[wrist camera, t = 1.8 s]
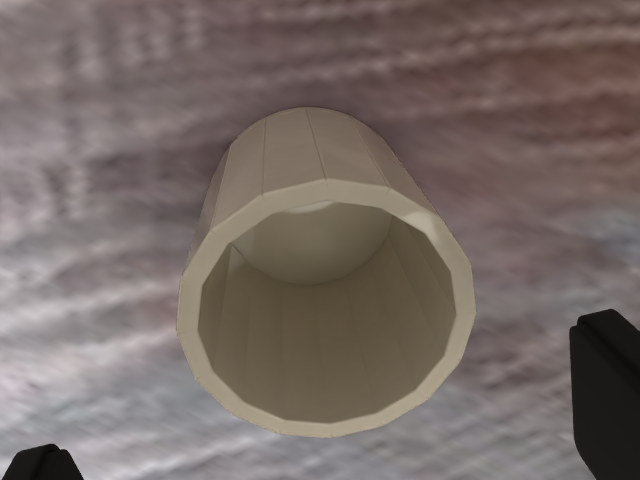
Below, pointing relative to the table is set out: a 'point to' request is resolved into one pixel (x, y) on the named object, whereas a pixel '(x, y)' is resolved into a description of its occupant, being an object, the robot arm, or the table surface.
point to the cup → (321, 281)
